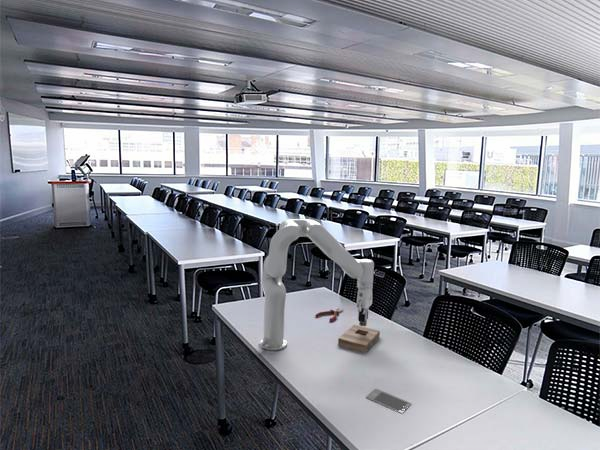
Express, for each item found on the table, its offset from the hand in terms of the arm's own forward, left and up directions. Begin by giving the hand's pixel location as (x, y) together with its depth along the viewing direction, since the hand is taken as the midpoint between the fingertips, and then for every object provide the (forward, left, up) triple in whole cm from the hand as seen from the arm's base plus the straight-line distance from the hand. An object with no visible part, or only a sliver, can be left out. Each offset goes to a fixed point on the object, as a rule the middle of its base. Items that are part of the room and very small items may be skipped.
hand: (363, 319), depth 202 cm
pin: (0, 0, -3) cm, 3 cm away
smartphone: (-45, -28, -11) cm, 54 cm away
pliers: (+20, +25, -11) cm, 34 cm away
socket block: (-3, 0, -10) cm, 11 cm away
